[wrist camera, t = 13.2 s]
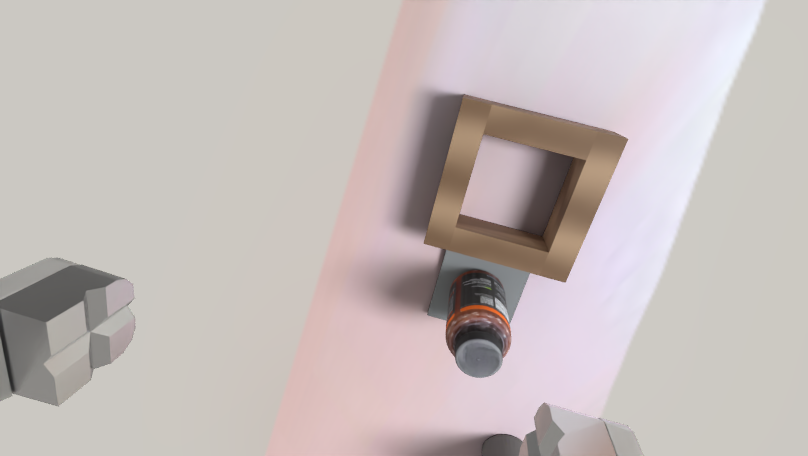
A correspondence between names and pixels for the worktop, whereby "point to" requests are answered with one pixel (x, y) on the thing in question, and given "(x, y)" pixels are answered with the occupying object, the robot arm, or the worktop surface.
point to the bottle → (501, 446)
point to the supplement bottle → (478, 323)
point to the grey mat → (461, 263)
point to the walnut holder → (572, 208)
